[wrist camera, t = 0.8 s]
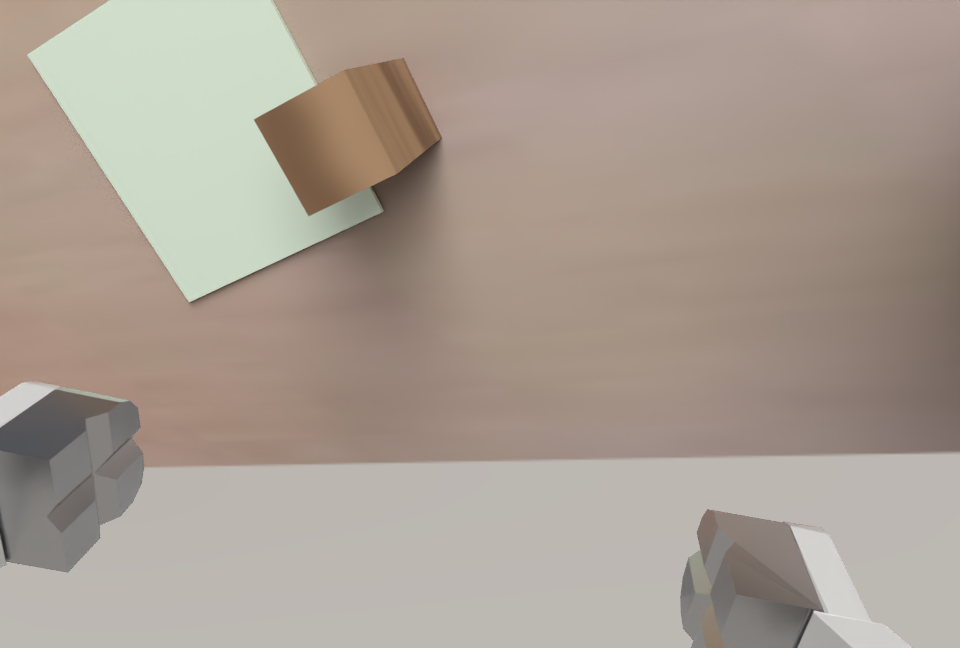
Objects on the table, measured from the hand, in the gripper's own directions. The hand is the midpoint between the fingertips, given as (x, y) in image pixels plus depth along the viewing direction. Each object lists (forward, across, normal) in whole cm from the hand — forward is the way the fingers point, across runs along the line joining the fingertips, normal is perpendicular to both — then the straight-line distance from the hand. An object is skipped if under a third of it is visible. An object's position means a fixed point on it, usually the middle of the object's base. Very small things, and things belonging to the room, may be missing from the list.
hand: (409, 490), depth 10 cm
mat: (+34, +21, +3) cm, 40 cm away
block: (+34, +9, 0) cm, 36 cm away
